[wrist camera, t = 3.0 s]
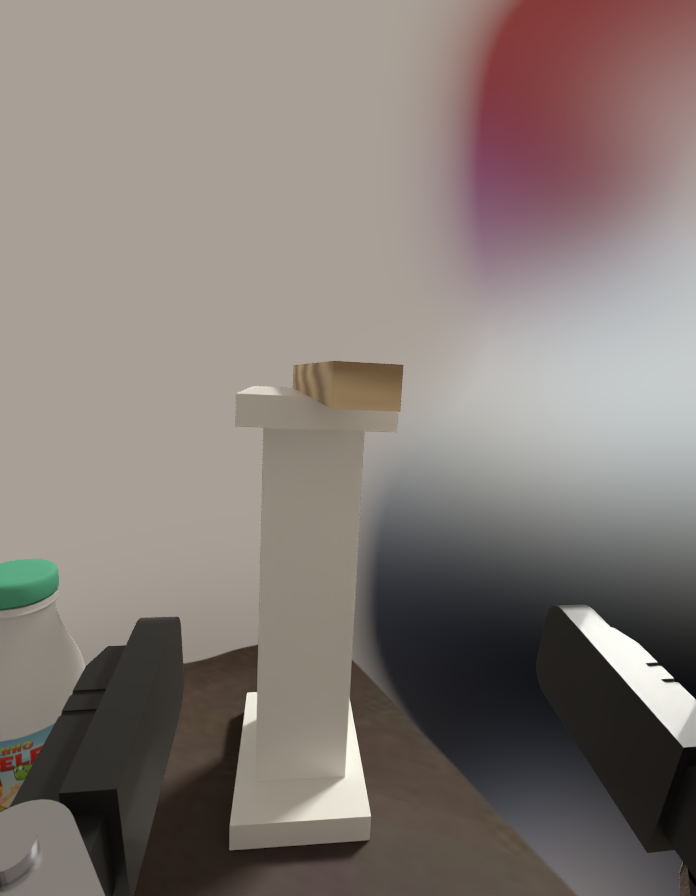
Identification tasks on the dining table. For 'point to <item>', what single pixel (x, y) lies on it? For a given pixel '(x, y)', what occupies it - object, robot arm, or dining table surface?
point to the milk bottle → (31, 667)
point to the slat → (351, 384)
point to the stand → (304, 627)
